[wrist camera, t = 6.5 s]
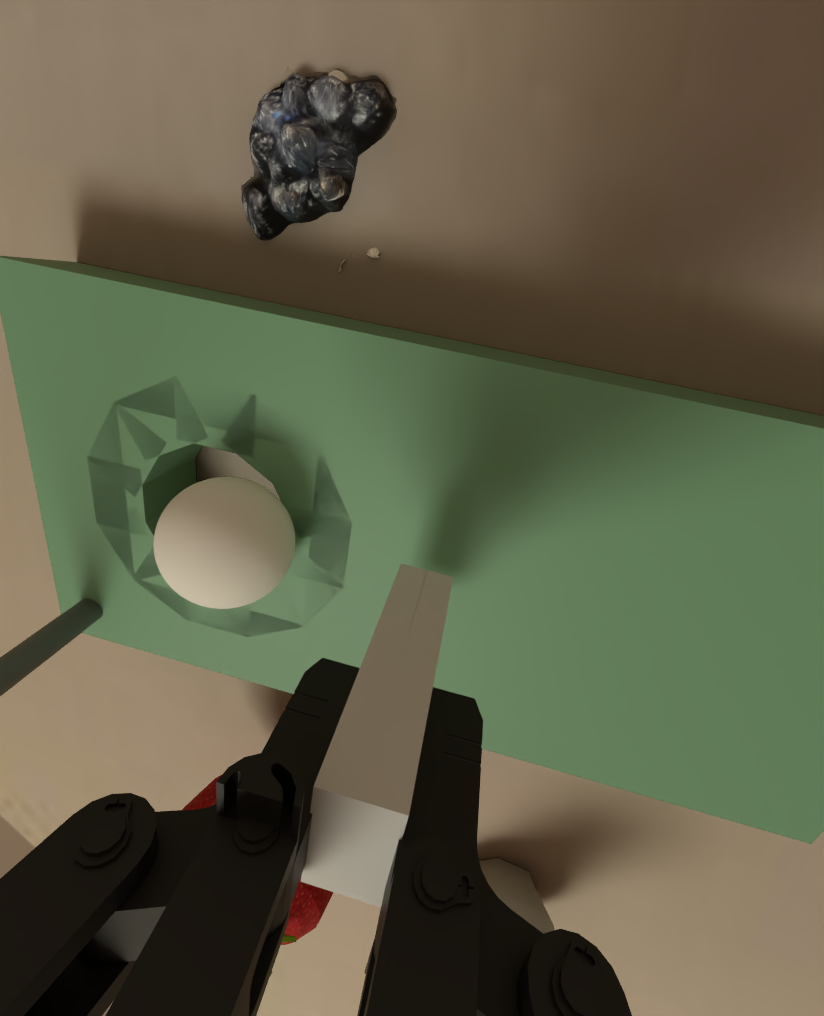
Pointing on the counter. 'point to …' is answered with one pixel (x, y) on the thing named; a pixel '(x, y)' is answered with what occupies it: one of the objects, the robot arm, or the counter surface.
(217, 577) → the white ball
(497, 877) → the salt shaker
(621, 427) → the board
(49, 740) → the counter surface
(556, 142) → the counter surface
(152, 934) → the robot arm
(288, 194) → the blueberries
